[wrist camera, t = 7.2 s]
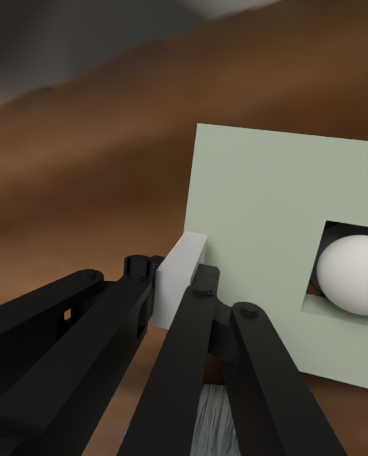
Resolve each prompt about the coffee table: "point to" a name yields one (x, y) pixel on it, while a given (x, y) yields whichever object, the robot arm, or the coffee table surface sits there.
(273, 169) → the green board
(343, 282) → the ball
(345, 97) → the coffee table surface
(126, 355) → the robot arm
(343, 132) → the coffee table surface
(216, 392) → the grey streaked egg
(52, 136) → the coffee table surface
